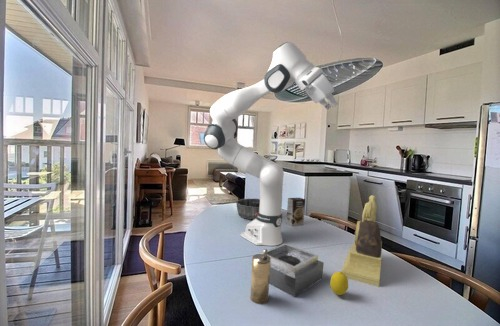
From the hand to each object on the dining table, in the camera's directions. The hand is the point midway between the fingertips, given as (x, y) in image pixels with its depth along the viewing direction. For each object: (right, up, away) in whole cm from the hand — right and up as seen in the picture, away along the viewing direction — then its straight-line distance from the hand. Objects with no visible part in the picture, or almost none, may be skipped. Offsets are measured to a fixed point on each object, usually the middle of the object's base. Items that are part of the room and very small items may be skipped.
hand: (332, 107), depth 97 cm
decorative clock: (+16, -64, +10) cm, 67 cm away
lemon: (-2, -65, -12) cm, 66 cm away
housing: (-17, -63, -2) cm, 65 cm away
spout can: (-28, -63, -16) cm, 71 cm away
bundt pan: (-28, -57, +75) cm, 99 cm away
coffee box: (-3, -59, +64) cm, 87 cm away
